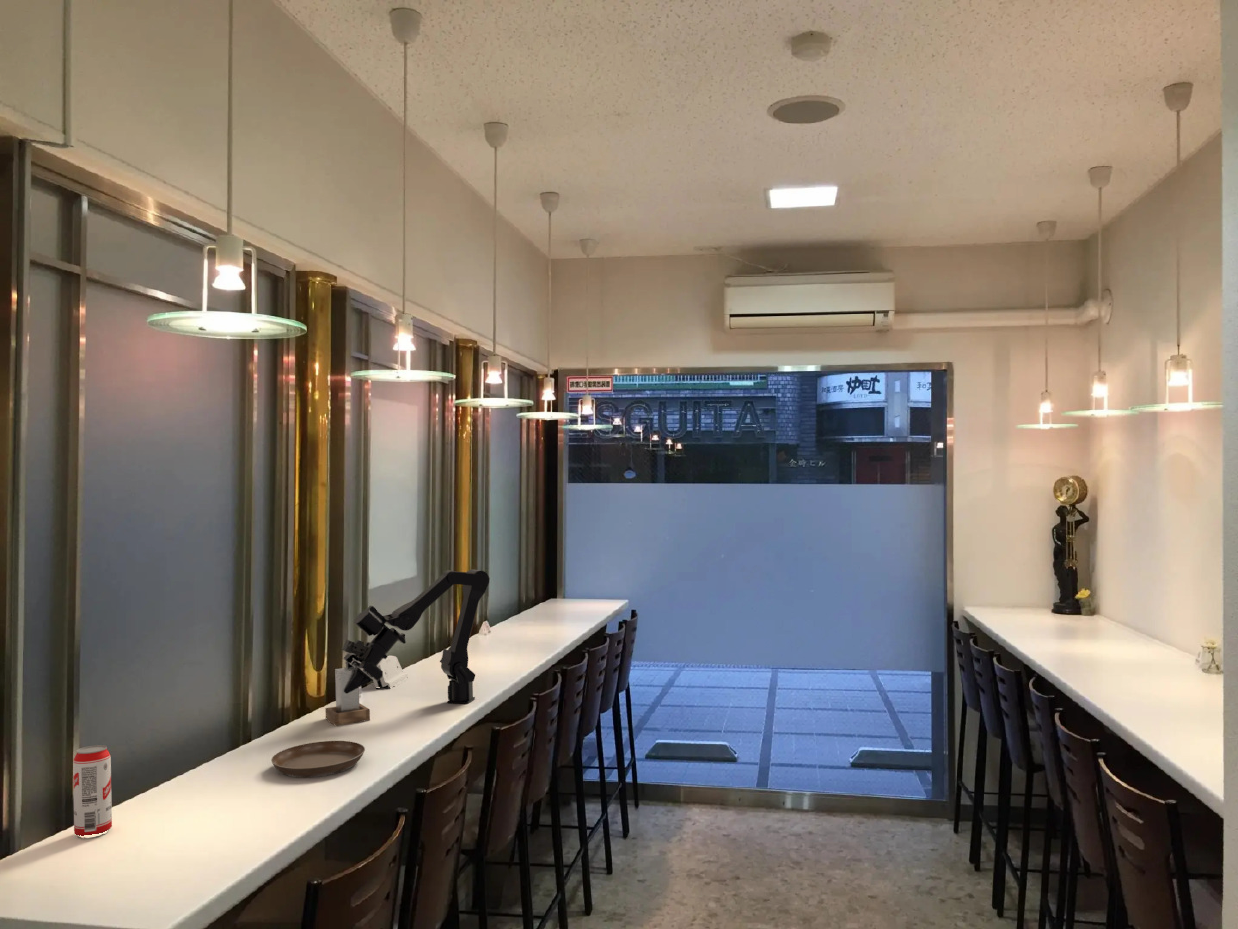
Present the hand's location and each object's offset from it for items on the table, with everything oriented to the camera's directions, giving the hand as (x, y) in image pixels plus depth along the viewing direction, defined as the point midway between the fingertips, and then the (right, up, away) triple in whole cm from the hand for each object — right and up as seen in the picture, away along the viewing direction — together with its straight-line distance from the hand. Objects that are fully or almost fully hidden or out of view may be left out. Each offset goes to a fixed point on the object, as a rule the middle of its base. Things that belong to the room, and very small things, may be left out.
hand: (342, 691), depth 259 cm
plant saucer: (+7, -7, -43) cm, 44 cm away
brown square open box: (+1, -8, 0) cm, 8 cm away
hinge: (+1, -9, +47) cm, 48 cm away
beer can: (-23, -7, -82) cm, 86 cm away
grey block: (+1, -7, +1) cm, 7 cm away
